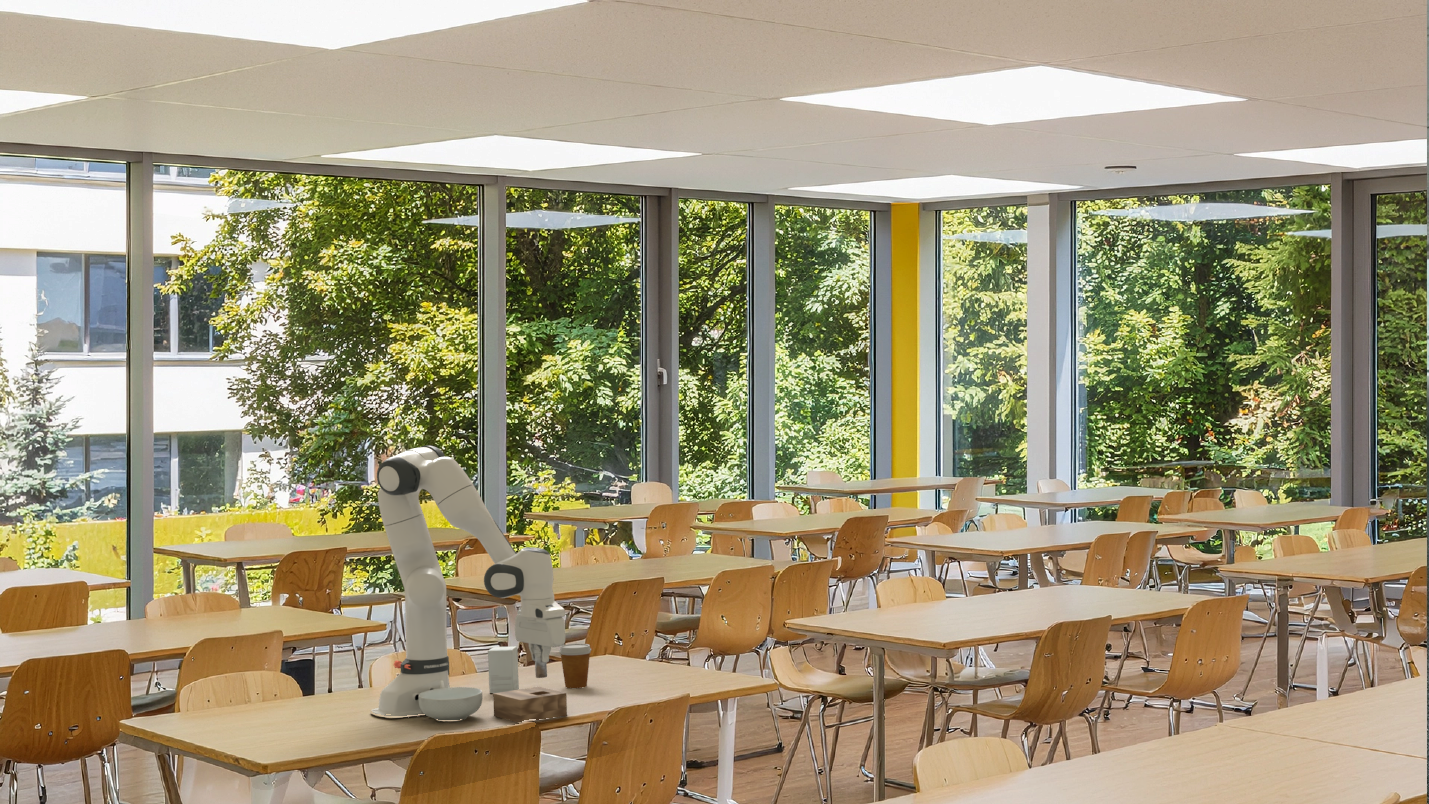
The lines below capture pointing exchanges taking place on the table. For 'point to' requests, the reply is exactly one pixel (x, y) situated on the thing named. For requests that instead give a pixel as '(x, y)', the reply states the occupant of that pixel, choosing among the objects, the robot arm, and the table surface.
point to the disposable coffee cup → (575, 664)
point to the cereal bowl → (450, 702)
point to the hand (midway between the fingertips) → (540, 661)
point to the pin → (539, 663)
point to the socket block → (530, 704)
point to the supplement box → (503, 669)
